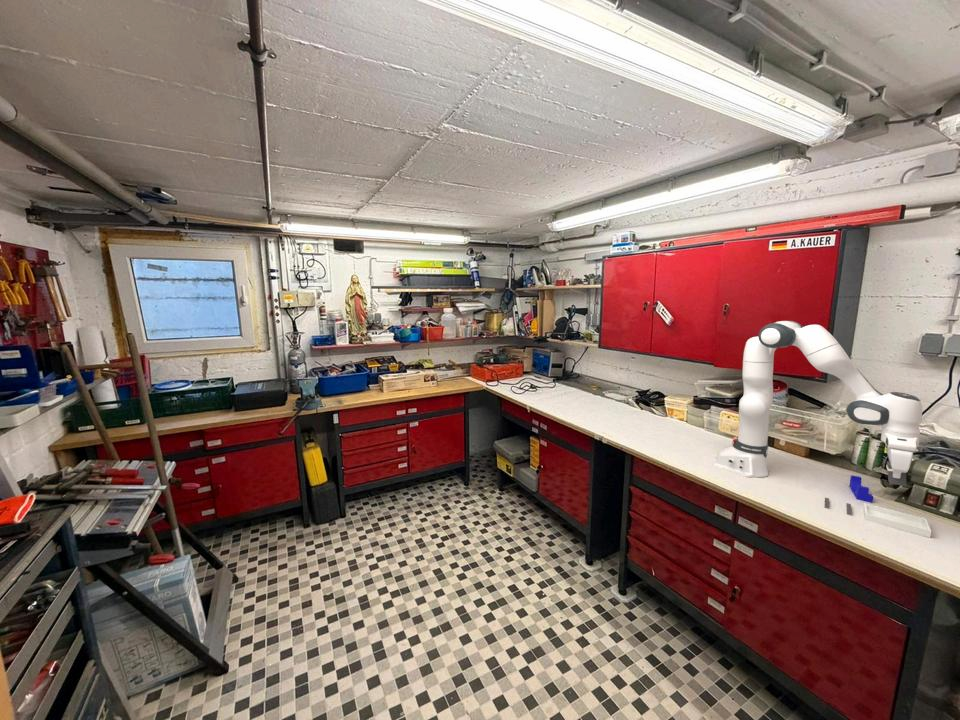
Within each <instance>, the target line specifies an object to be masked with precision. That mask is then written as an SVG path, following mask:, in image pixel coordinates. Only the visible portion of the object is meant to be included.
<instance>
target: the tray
mask: <svg viewBox="0 0 960 720" xmlns="http://www.w3.org/2000/svg"><path fill="white" fill-rule="evenodd" d="M862 508H863V517H864V520H865V521H868V522H871V523H874V524H878V525H882V526H885V527H889V528H892V529H896V530H899V531H902V532H903V531H904V532H906V533H907V532H908V533H910V534H914V535H918V536H922V537H926V538H929V539H931V535H932V530H931V526H930V524H929V522H928V520H927V518H926V517H923V516H918V515H914V514H911V513H910V514H909V513H904V512H903V511H897V510H893V509H891V508H886V507H882V506H878V505H874V504H870V503H867V502H866V503H865V502H863V506H862Z"/></svg>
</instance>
